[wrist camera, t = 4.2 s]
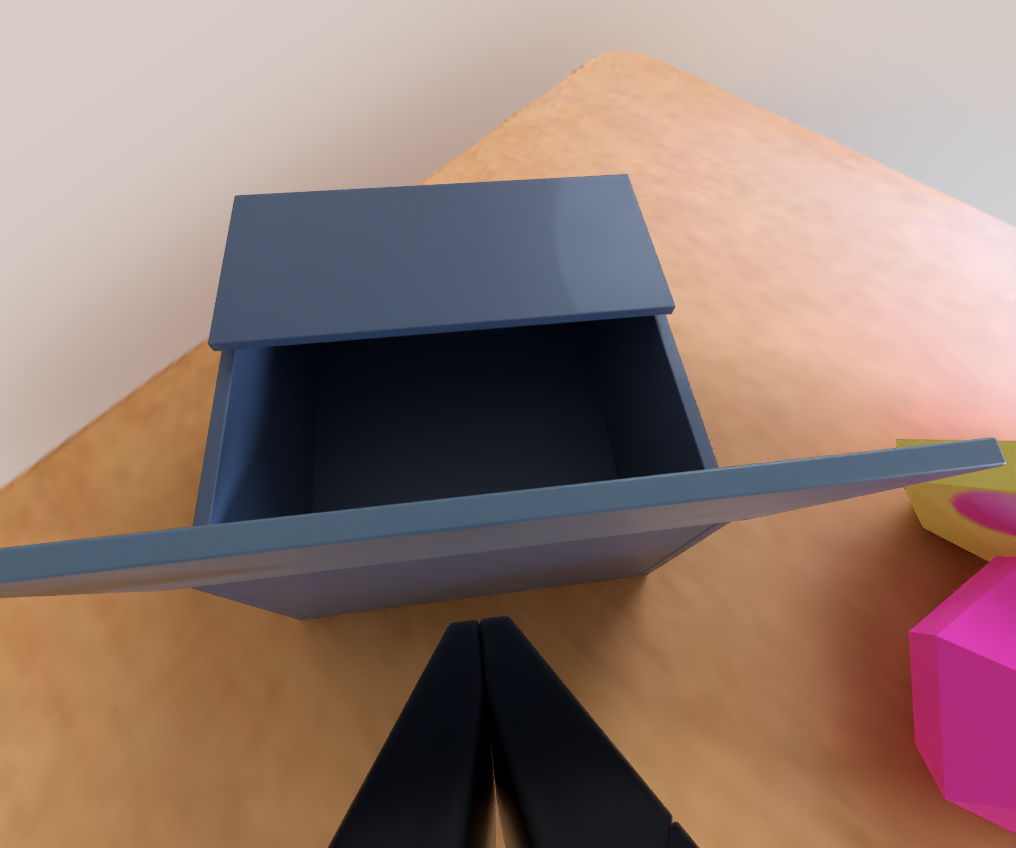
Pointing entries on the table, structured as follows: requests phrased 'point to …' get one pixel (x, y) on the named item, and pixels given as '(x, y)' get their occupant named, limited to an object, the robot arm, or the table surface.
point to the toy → (970, 643)
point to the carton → (443, 375)
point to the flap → (471, 522)
